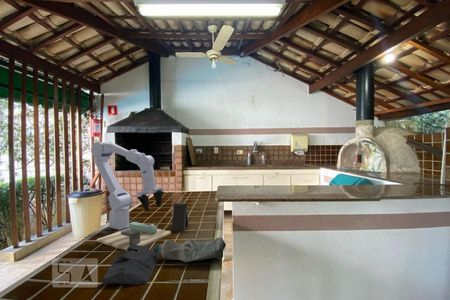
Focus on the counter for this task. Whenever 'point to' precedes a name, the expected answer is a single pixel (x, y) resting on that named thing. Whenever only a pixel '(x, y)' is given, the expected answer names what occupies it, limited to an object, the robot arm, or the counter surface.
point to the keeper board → (125, 241)
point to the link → (143, 227)
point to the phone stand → (180, 216)
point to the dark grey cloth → (132, 266)
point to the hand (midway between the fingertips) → (153, 208)
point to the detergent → (191, 250)
